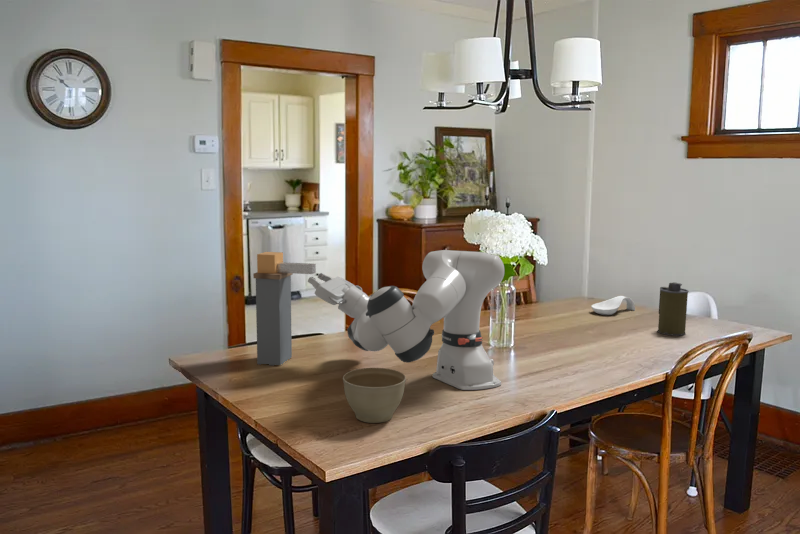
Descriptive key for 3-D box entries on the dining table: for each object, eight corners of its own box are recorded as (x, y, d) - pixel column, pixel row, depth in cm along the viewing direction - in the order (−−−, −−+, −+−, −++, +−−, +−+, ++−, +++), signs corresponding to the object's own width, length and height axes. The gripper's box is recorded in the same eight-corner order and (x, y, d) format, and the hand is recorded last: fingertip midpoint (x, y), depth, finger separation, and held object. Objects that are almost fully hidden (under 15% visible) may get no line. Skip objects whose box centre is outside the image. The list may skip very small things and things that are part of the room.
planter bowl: (332, 423, 174) (332, 381, 173) (358, 403, 189) (358, 364, 188) (391, 432, 169) (391, 389, 167) (413, 411, 184) (414, 371, 182)
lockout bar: (317, 272, 226) (317, 253, 225) (310, 275, 219) (310, 256, 218) (266, 269, 229) (265, 251, 229) (257, 272, 223) (257, 254, 222)
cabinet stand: (293, 357, 234) (292, 269, 230) (281, 366, 223) (279, 274, 219) (268, 355, 236) (267, 268, 231) (255, 364, 225) (253, 273, 221)
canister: (691, 333, 274) (694, 283, 271) (675, 337, 268) (678, 286, 265) (666, 328, 282) (670, 279, 280) (651, 331, 277) (654, 282, 274)
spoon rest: (606, 318, 302) (606, 302, 301) (585, 313, 311) (586, 297, 310) (641, 312, 314) (642, 297, 313) (620, 308, 324) (621, 293, 323)
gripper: (335, 314, 211) (298, 289, 213) (353, 302, 231) (319, 280, 233) (345, 296, 210) (307, 272, 212) (363, 287, 230) (328, 264, 231)
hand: (314, 276), depth 222 cm, fingers open, 8 cm apart
